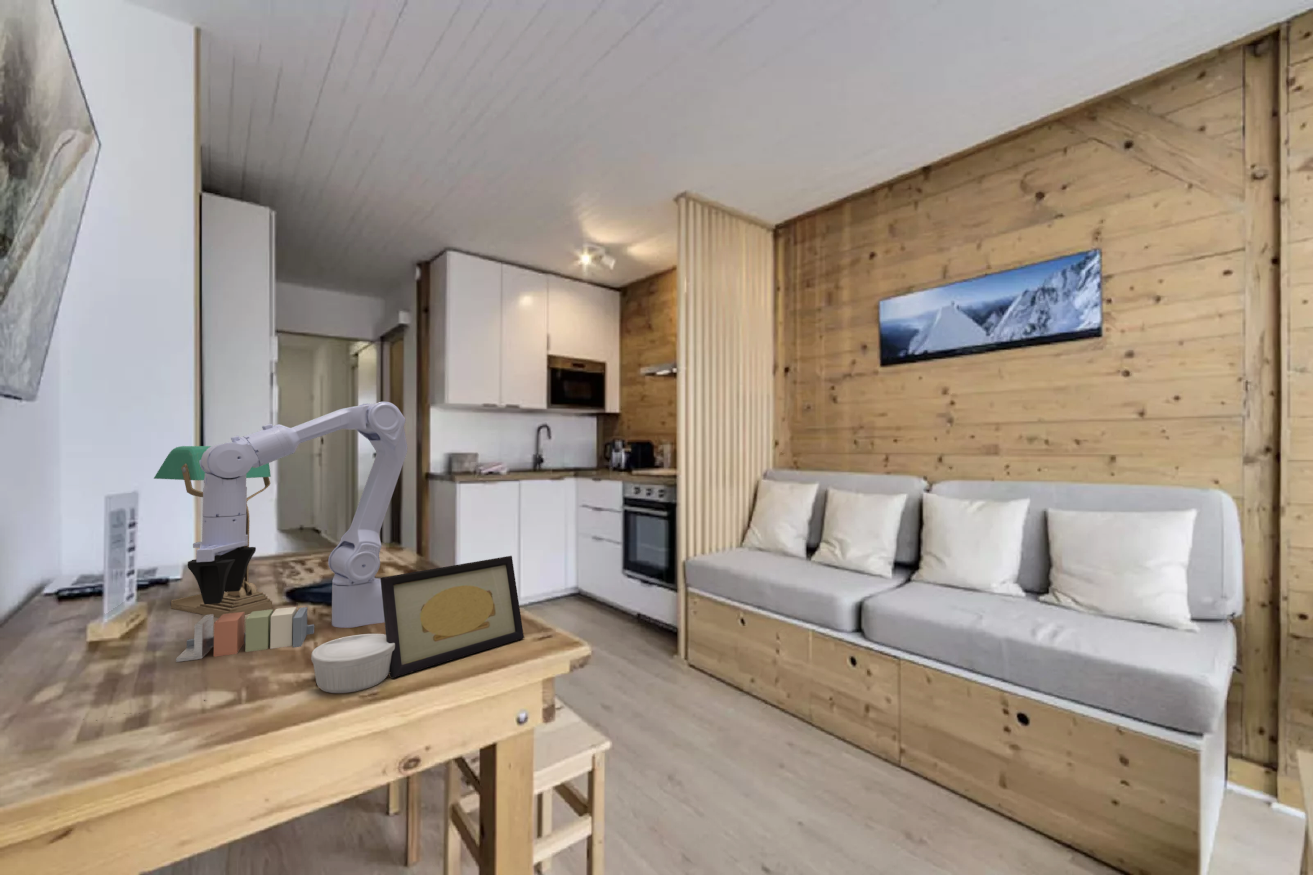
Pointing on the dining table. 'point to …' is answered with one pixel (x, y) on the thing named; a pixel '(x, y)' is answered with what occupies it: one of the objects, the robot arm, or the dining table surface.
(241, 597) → the banker's lamp
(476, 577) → the picture frame
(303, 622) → the shelf
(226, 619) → the rust book
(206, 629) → the bookend
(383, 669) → the ramekin
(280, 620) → the cream book
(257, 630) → the olive block
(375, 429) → the robot arm
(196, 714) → the dining table surface
